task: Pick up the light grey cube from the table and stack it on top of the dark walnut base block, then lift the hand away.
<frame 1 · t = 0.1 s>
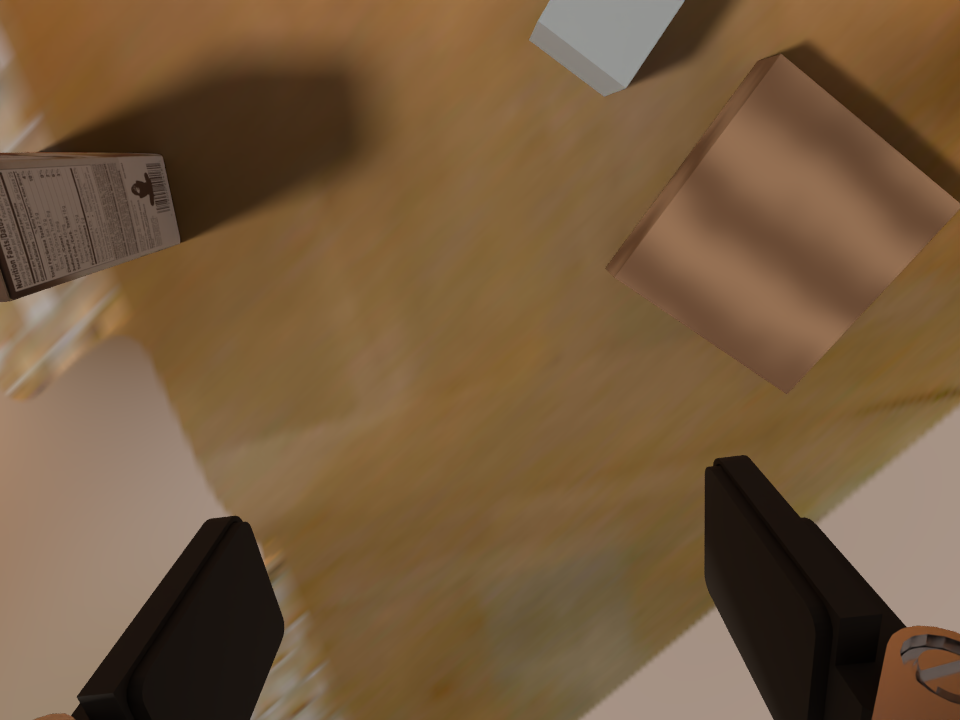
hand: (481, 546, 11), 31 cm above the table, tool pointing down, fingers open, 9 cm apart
light grey cube: (595, 24, 35), on the table
coffee box: (112, 199, 39), on the table
walnut base: (763, 235, 40), on the table
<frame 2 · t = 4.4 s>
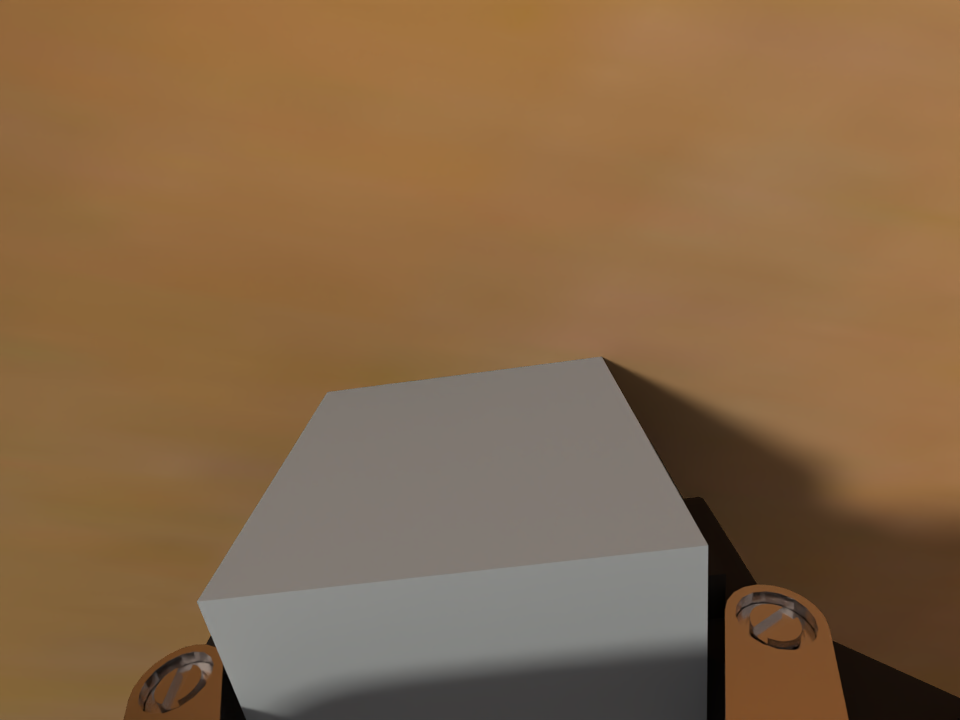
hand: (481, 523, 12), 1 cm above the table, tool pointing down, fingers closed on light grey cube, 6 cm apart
light grey cube: (481, 491, 13), on the table, touching gripper
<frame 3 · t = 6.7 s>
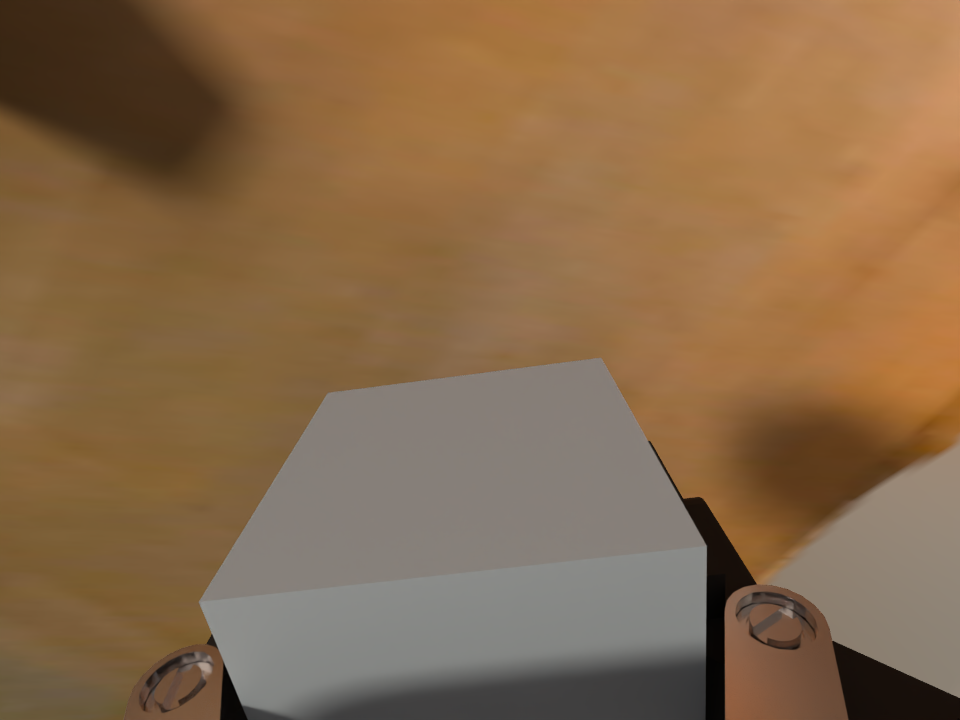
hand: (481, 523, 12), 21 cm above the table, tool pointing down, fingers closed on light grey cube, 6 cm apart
light grey cube: (481, 491, 13), point 20 cm above the table, touching gripper
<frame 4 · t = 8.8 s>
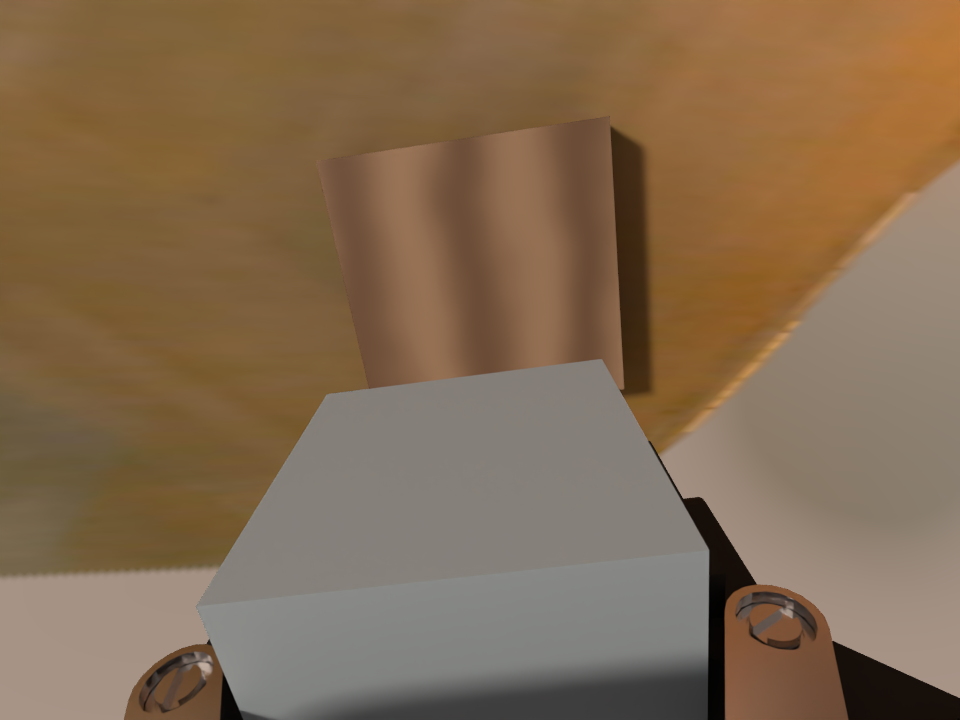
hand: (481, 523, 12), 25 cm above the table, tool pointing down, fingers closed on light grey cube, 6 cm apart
light grey cube: (481, 493, 13), point 24 cm above the table, touching gripper
walnut base: (481, 272, 36), on the table
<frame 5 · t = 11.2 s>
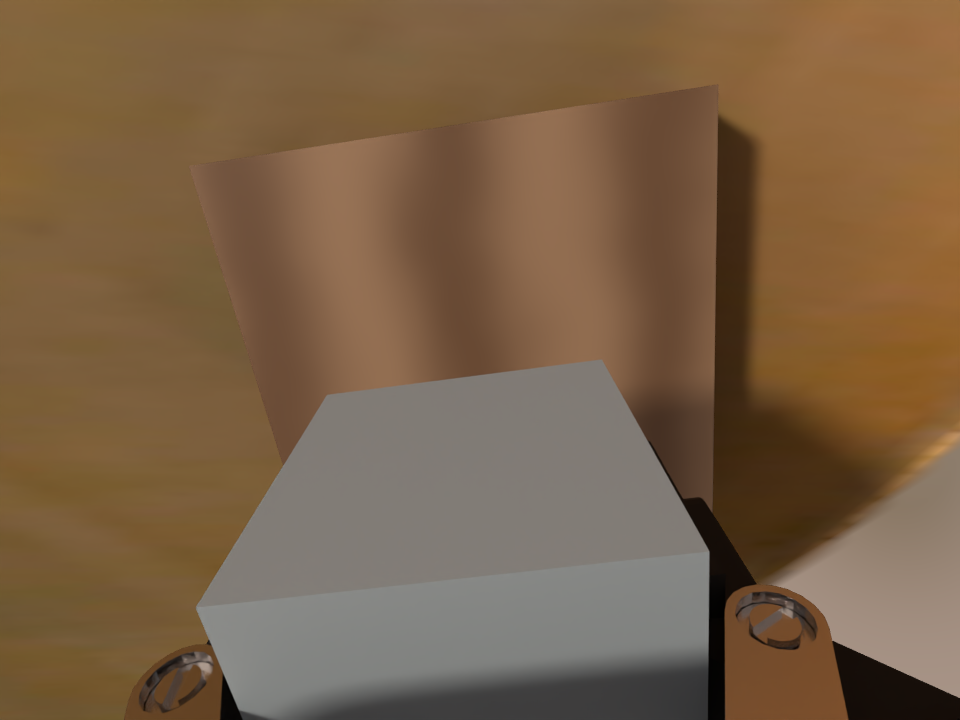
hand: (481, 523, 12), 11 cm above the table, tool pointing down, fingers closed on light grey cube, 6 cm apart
light grey cube: (481, 493, 13), point 10 cm above the table, touching gripper
walnut base: (483, 342, 22), on the table
when the fingers open (5 cm above the table, at t = 13.3 s): light grey cube drops 1 cm, resting on walnut base.
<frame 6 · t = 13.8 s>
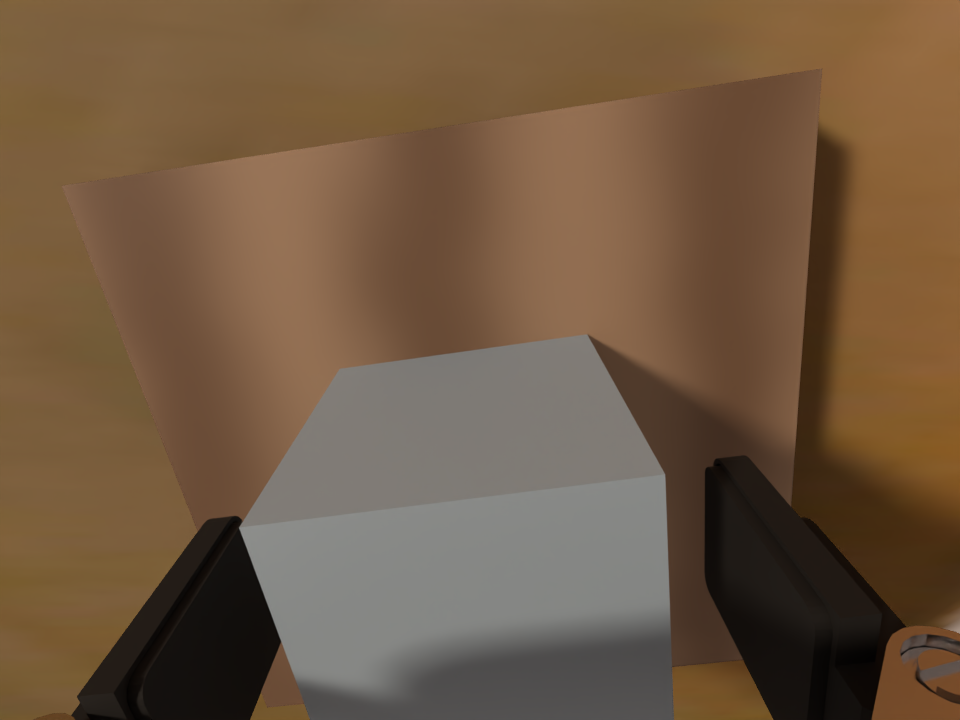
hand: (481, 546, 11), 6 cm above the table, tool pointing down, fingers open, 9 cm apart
light grey cube: (480, 459, 14), point 3 cm above the table, touching walnut base
walnut base: (481, 409, 17), on the table
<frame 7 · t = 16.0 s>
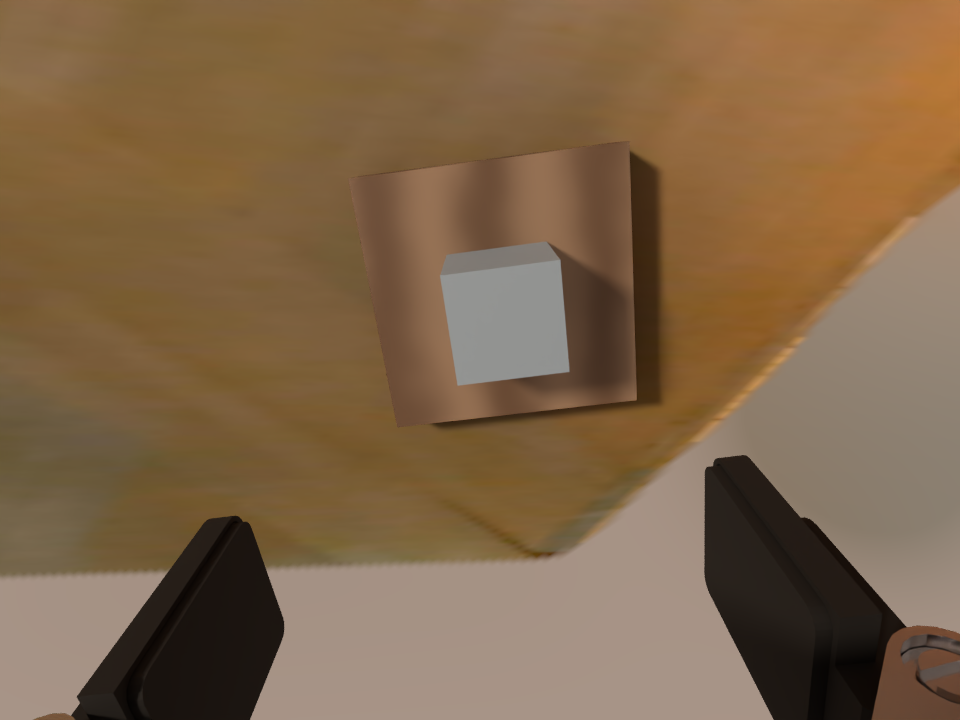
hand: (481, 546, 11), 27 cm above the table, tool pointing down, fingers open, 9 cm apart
light grey cube: (502, 296, 34), point 3 cm above the table, touching walnut base
walnut base: (501, 286, 37), on the table
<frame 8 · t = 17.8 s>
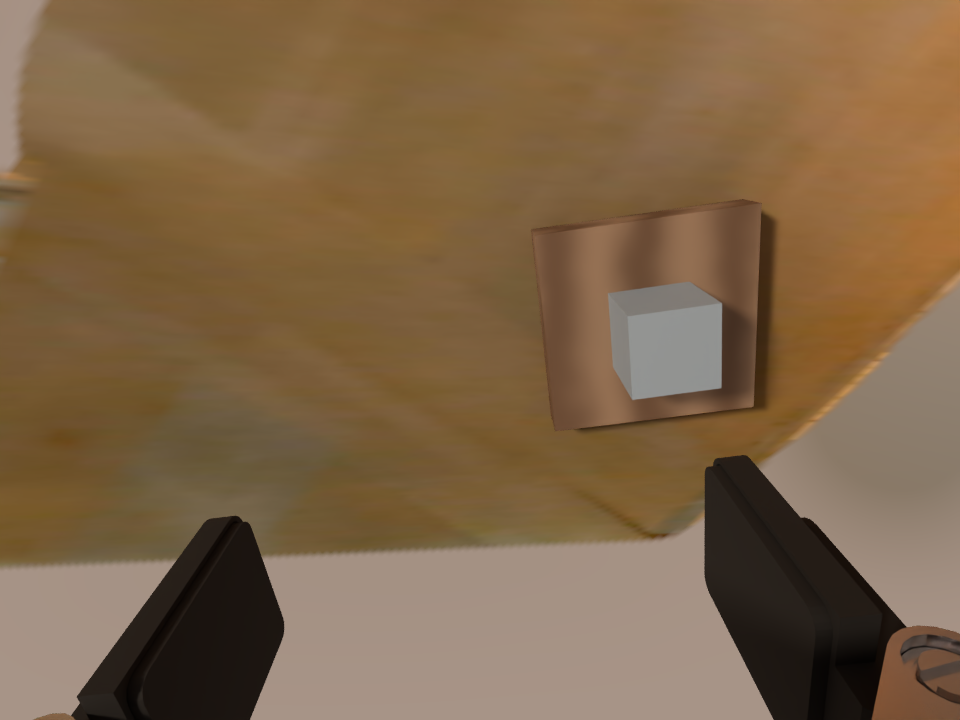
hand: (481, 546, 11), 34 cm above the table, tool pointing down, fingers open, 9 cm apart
light grey cube: (650, 325, 42), point 3 cm above the table, touching walnut base
walnut base: (639, 314, 45), on the table
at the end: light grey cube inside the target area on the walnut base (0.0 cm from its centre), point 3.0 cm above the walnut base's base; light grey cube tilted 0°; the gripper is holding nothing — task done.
